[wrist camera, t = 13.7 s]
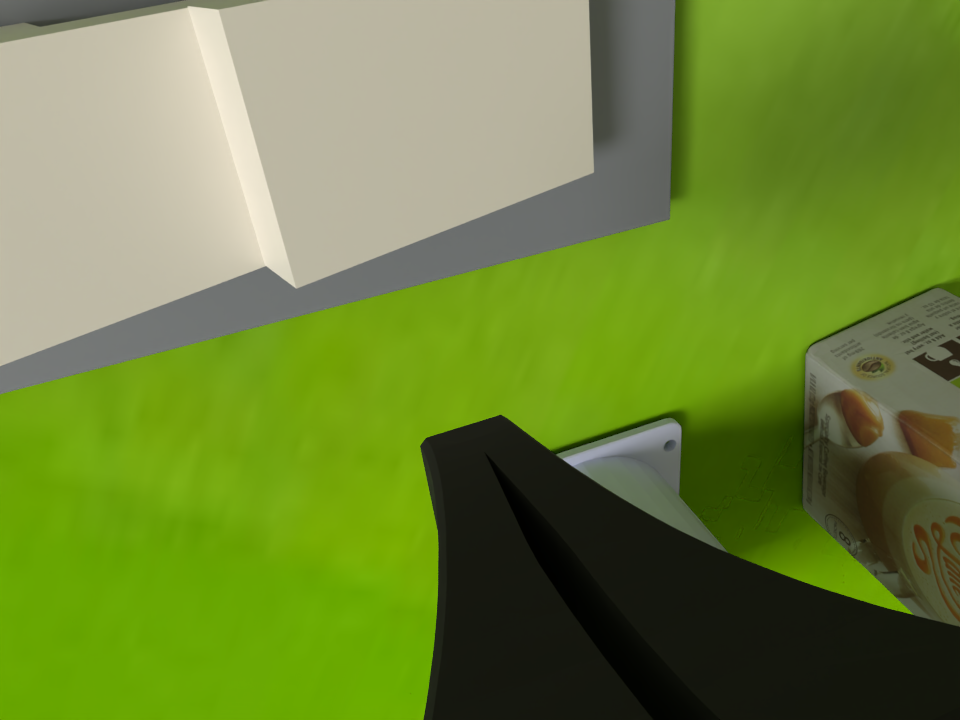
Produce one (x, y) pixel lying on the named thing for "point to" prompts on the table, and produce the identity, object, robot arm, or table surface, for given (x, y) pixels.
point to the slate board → (470, 246)
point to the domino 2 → (393, 116)
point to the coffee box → (891, 448)
